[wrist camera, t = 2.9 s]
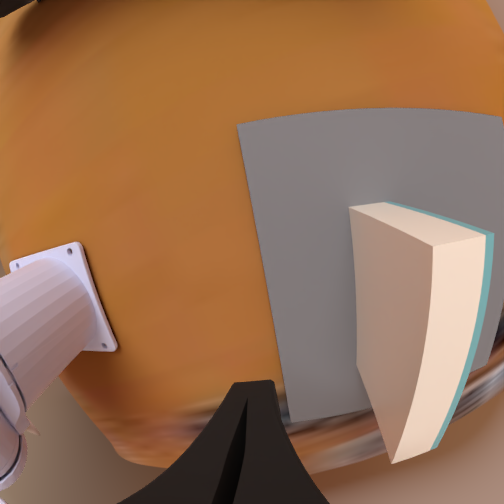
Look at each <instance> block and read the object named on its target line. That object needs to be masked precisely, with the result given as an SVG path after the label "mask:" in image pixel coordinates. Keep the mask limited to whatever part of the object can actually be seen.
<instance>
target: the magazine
mask: <svg viewBox="0 0 504 504" xmlns="http://www.w3.org/2000/svg"><path fill="white" fill-rule="evenodd" d="M32 1H34V0H0V18H1V17H5V16H6V15H8V14H10V13H12V12H13V11H15V10H17V9H19V8H21V7H23V6H25V5H27V4H29V3H31V2H32ZM37 1H38V2H41V0H37Z"/></svg>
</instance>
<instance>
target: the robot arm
mask: <svg viewBox="0 0 504 504" xmlns="http://www.w3.org/2000/svg"><path fill="white" fill-rule="evenodd" d="M71 249H72V253H71ZM10 270H11V273H10V274H8V275H6V276H4V277H2V278H0V491H1V490H4V489H6V488H8V487H9V486H10V485H12V484H13V483H14V482H15V481H16V480H17V479H18V478H19V476H20V475H21V473H22V471H23V469H24V467H25V463H26V459H27V443H26V439H25V436H24V434H23V432H24V431H25V430H26V429H27V427H28V426H29V425H30V422H29V420H28V419H27V417H26V414H25V412H26V411H27V410H28V409H29V408H30V407H31V405H32V404H33V403H34V402H35V401H36V400H37V398H38V397H39V396H40V395H41V394H42V393H43V392H44V390H45V389H46V388H47V387H48V386H49V385H50V384H51V383H52V382H53V381H54V380H55V378H56V377H57V376H58V375H59V374H60V373H61V372H62V371H63V370H64V369H65V368H66V367H67V365H68V364H69V363H70V362H71V361H72V360H73V359H74V358H75V357H76V356H77V355H78V354H79V353H80V352H81V351H82V350H83V351H110V352H113V351H115V350H116V349H117V347H118V345H117V342H116V340H115V338H114V335H113V333H112V330H111V328H110V326H109V323H108V321H107V318H106V316H105V313H104V311H103V308H102V305H101V303H100V300H99V297H98V294H97V291H96V289H95V286H94V283H93V280H92V277H91V273H90V270H89V267H88V264H87V260H86V257H85V254H84V250H83V247H82V245H81V244H80V243H79V242H73V243H70V244H66V245H63V246H59V247H56V248H52V249H49V250H46V251H42V252H39V253H36V254H32V255H29V256H26V257H23V258H20V259H17V260H13V261H11V262H10ZM105 344H106V345H107V346H106V345H105ZM0 504H8V503H7V502H5V501H4V500H3V499H2V498H0ZM117 504H329V502H328V501H327V500H326V498H325V497H324V496H323V494H322V493H321V492H320V490H319V489H318V488H317V486H316V485H315V483H314V482H313V480H312V479H311V477H310V476H309V474H308V473H307V471H306V469H305V468H304V466H303V464H302V463H301V461H300V459H299V457H298V456H297V454H296V452H295V450H294V448H293V446H292V444H291V442H290V439H289V437H288V435H287V433H286V430H285V428H284V425H283V423H282V420H281V414H280V409H279V404H278V399H277V394H276V389H275V384H274V382H273V381H272V380H261V381H250V382H237V383H234V384H233V385H232V386H231V388H230V390H229V391H228V393H227V395H226V397H225V398H224V400H223V402H222V403H221V405H220V406H219V408H218V409H217V411H216V412H215V414H214V415H213V417H212V418H211V420H210V421H209V422H208V424H207V425H206V427H205V428H204V429H203V431H202V432H201V433H200V434H199V436H198V437H197V438H196V439H195V441H194V442H193V443H192V444H191V445H190V447H189V448H188V449H187V450H186V451H185V452H184V453H183V454H182V455H181V456H180V457H179V458H178V459H177V460H176V461H175V462H174V463H173V464H172V465H171V466H170V467H169V468H168V469H167V470H166V471H164V472H163V473H162V474H161V475H160V476H158V477H157V478H156V479H155V480H153V481H152V482H151V483H149V484H148V485H147V486H145V487H144V488H142V489H141V490H139V491H138V492H136V493H134V494H133V495H131V496H130V497H128V498H126V499H124V500H123V501H121V502H119V503H117Z"/></svg>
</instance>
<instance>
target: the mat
mask: <svg viewBox="0 0 504 504" xmlns="http://www.w3.org/2000/svg"><path fill="white" fill-rule="evenodd" d="M237 130H238V135H239V140H240V145H241V150H242V155H243V160H244V166H245V171H246V176H247V181H248V186H249V192H250V197H251V202H252V207H253V213H254V218H255V223H256V229H257V234H258V239H259V245H260V250H261V256H262V261H263V267H264V272H265V277H266V283H267V288H268V294H269V299H270V305H271V311H272V316H273V322H274V327H275V333H276V339H277V344H278V350H279V356H280V361H281V367H282V373H283V378H284V384H285V390H286V396H287V402H288V408H289V413H290V419H291V423H292V422H300V421H307V420H314V419H320V418H326V417H332V416H337V415H342V414H347V413H351V412H356V411H360V410H364V409H368V408H372V405H371V402H370V399H369V397H368V394H367V391H366V389H365V386H364V383H363V381H362V378H361V375H360V373H359V370H358V368H357V365H356V360H357V313H356V286H355V269H354V255H353V243H352V233H351V224H350V215H349V207H352V206H359V205H366V204H374V203H381V202H389V201H391V202H395V203H399V204H402V205H406V206H410V207H414V208H417V209H421V210H424V211H428V212H431V213H434V214H438V215H441V216H444V217H448V218H451V219H454V220H457V221H460V222H463V223H466V224H469V225H472V226H475V227H478V228H481V229H484V230H486V231H489V232H492V233H494V248H493V261H492V271H491V280H490V287H489V294H488V300H487V306H486V311H485V316H484V321H483V325H482V330H481V334H480V338H479V342H478V345H477V349H476V353H475V356H474V359H473V363H472V366H471V369H470V372H473V371H475V370H477V369H479V368H481V367H483V366H485V365H487V362H488V359H489V356H490V352H491V349H492V346H493V342H494V339H495V335H496V332H497V328H498V324H499V319H500V315H501V311H502V306H503V301H504V127H503V122H502V117H498V116H492V115H486V114H479V113H471V112H462V111H452V110H440V109H422V108H366V109H347V110H334V111H323V112H313V113H304V114H296V115H289V116H282V117H275V118H269V119H263V120H258V121H252V122H247V123H242V124H237ZM470 372H469V373H470Z"/></svg>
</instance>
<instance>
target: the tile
mask: <svg viewBox="0 0 504 504" xmlns="http://www.w3.org/2000/svg"><path fill="white" fill-rule="evenodd" d="M349 215H350V224H351V233H352V243H353V255H354V269H355V286H356V313H357V360H356V365H357V368H358V370H359V373H360V375H361V378H362V381H363V383H364V386H365V389H366V391H367V394H368V397H369V399H370V402H371V405H372V408H373V410H374V413H375V416H376V419H377V422H378V425H379V428H380V431H381V434H382V437H383V440H384V443H385V446H386V449H387V452H388V455H389V458H390V461H391V464H393V463H396V462H399V461H402V460H405V459H408V458H411V457H414V456H416V455H419V454H421V453H424V452H427V451H429V450H431V449H434V448H436V447H437V446H438V444H439V442H440V440H441V438H442V437H443V434H444V432H445V430H446V428H447V426H448V424H449V422H450V420H451V418H452V416H453V413H454V411H455V409H456V406H457V404H458V402H459V399H460V397H461V394H462V392H463V389H464V386H465V383H466V381H467V378H468V375H469V372H470V369H471V366H472V363H473V359H474V356H475V353H476V349H477V345H478V342H479V338H480V334H481V330H482V325H483V321H484V316H485V311H486V306H487V300H488V294H489V287H490V280H491V271H492V261H493V248H494V233H492V232H489V231H486V230H484V229H481V228H478V227H475V226H472V225H469V224H466V223H463V222H460V221H457V220H454V219H451V218H448V217H444V216H441V215H438V214H434V213H431V212H428V211H424V210H421V209H417V208H414V207H410V206H406V205H402V204H399V203H395V202H391V201H389V202H381V203H374V204H366V205H359V206H352V207H349Z"/></svg>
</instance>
